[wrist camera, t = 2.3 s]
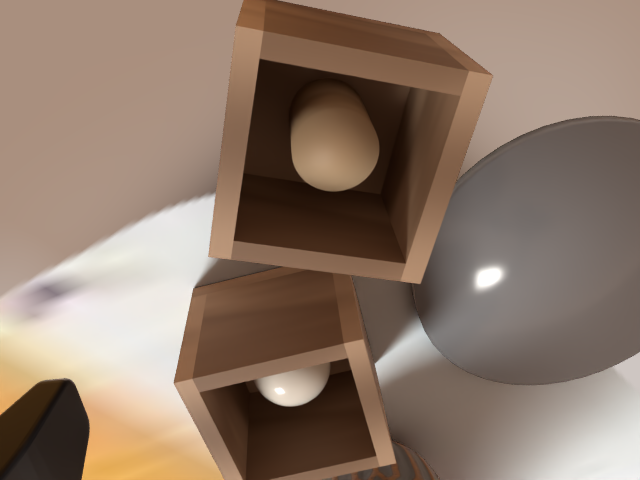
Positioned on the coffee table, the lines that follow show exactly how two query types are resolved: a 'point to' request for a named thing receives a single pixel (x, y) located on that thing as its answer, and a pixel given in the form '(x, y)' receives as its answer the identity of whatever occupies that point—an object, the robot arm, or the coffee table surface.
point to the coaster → (541, 257)
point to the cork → (331, 135)
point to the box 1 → (387, 119)
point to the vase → (396, 468)
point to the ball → (294, 385)
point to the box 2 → (275, 358)
